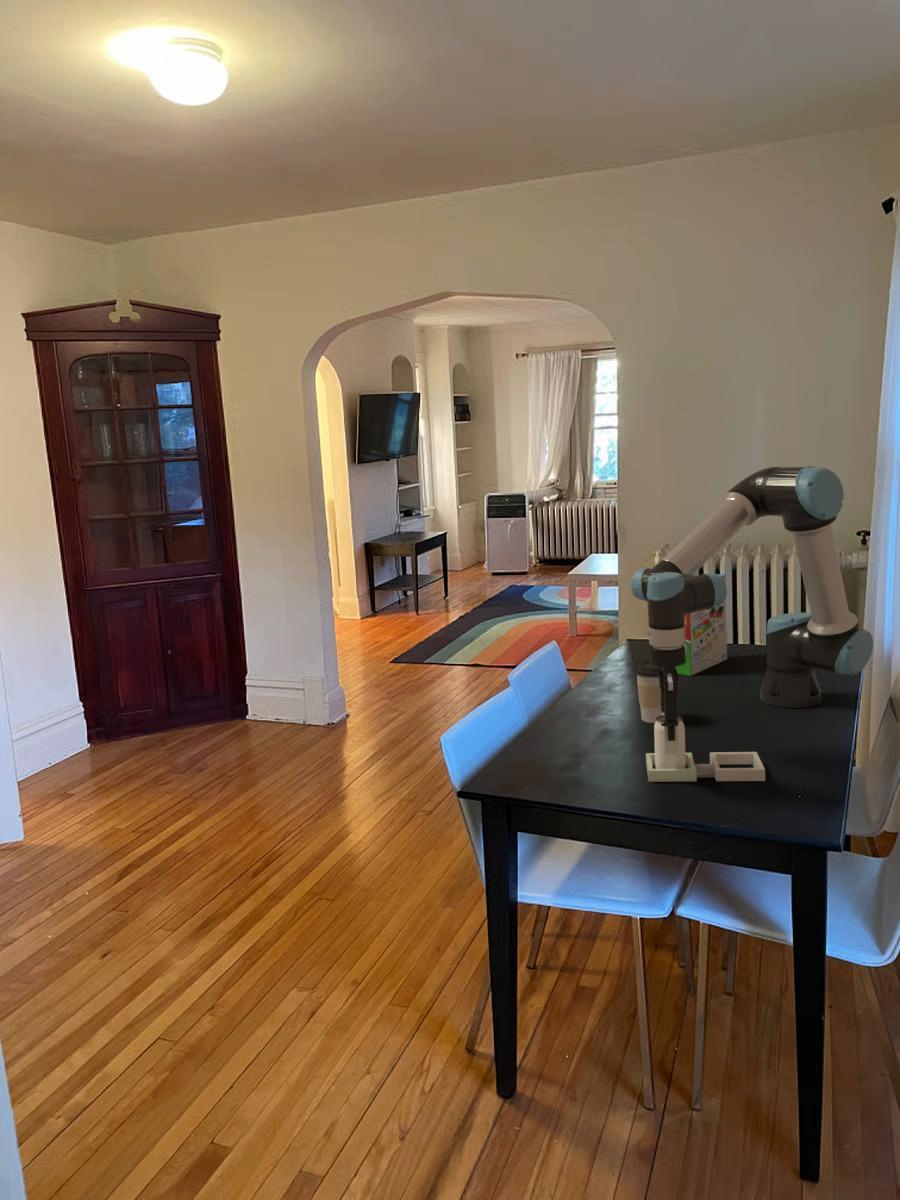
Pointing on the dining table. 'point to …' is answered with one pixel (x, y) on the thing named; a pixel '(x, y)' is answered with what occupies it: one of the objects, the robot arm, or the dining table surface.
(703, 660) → the game box
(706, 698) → the dining table surface
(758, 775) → the socket panel
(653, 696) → the coffee cup
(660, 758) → the can
